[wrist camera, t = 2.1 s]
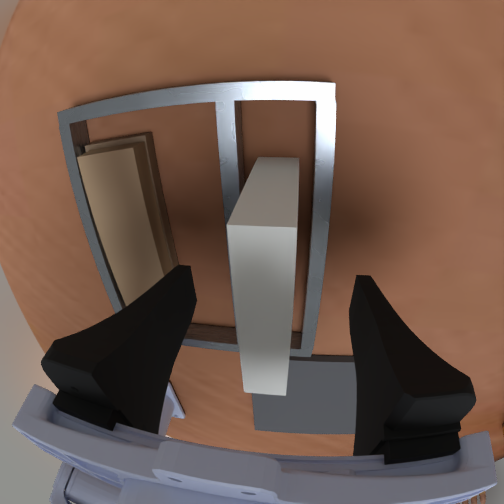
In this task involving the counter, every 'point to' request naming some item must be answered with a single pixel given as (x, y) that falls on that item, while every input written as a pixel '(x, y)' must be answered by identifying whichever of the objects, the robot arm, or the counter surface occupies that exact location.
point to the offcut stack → (129, 211)
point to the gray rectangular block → (265, 271)
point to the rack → (231, 178)
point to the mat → (312, 398)
